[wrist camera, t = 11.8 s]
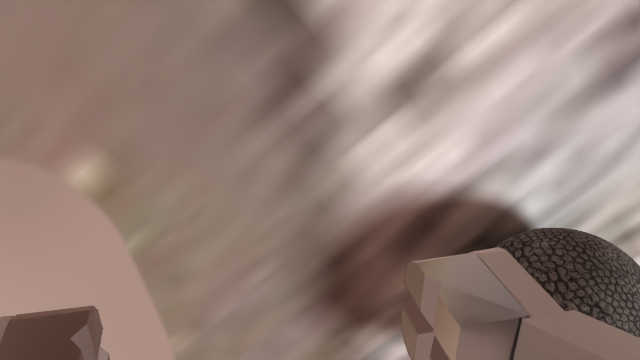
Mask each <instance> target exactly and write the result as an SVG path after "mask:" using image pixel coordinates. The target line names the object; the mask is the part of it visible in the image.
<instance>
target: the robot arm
mask: <svg viewBox="0 0 640 360" xmlns="http://www.w3.org/2000/svg"><path fill="white" fill-rule="evenodd" d="M404 284H405V285H406V287H407V289H408V291H409V292H410V294H411V296H410V297H409V299H408V300H407V301H406V302H405V304H404V305H403V306H402V321H401V324H402V331H403V338H404V343H405V346H406V349H407V352H408V354H409V356H410V358H411V360H640V338H639V337H636V336H634V335H632V334H629V333H627V332H625V331H622V330H620V329H618V328H615V327H613V326H611V325H608V324H606V323H604V322H601V321H599V320H597V319H594V318H592V317H590V316H587V315H585V314H583V313H580V312H578V311H576V310H571V311H564V310H563V309H562V308H561V307H560V306H559V305H558V304H557V303H556V301H555V300H554V299H553V298H552V297H551V296H550V295H549V294H548V293H547V292H546V291H545V290H544V289H543V288H542V287H541V286H540V285H539V284H538V283H537V282H536V281H535V280H534V279H533V278H532V276H531V275H530V274H529V273H528V272H527V271H526V270H525V269H524V268H523V267H522V266H521V265H520V264H519V263H518V262H517V261H516V260H515V259H514V258H513V257H512V256H511V255H510V254H509V252H508V251H506V250H504V249H502V248H499V247H497V248H491V249H485V250H479V251H473V252H469V253H468V254H460V255H453V256H446V257H440V258H433V259H426V260H419V261H412V262H409V264H408V266H407V269H406V274H405V283H404ZM102 330H103V327H102V324H101V320H100V316H99V313H98V310H97V309H96V308H95V306H87V307H78V308H70V309H61V310H53V311H45V312H36V313H27V314H19V315H16V316H5V317H0V360H110V358H109V353H108V352H107V351H105V350H104V349H102V348H101V347H100V343H101V336H102Z"/></svg>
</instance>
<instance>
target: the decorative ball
mask: <svg viewBox="0 0 640 360" xmlns="http://www.w3.org/2000/svg"><path fill="white" fill-rule="evenodd" d="M497 247H499V248H502V249H504V250H506V251H508V252H509V254H510V255H511V256H512V257H513V258H514V259H515V260H516V261H517V262H518V263H519V264H520V265H521V266H522V267H523V268H524V269H525V270H526V271H527V272H528V273H529V274H530V275H531V276H532V278H533V279H534V280H535V281H536V282H537V283H538V284H539V285H540V286H541V287H542V288H543V289H544V290H545V291H546V292H547V293H548V294H549V295H550V296H551V297H552V298H553V299H554V300H555V301H556V303H557V304H558V305H559V306H560V307H561V308H562V309H563V310H564V311H571V310H576V311H578V312H580V313H583V314H585V315H587V316H590V317H592V318H594V319H597V320H599V321H601V322H604V323H606V324H608V325H611V326H613V327H615V328H618V329H620V330H622V331H625V332H627V333H629V334H632V335H634V336H636V337H639V338H640V266H639V265H638V264H637V263H636V262H635V261H634V260H633V259H632V258H631V257H630V256H628V255H627V254H626V253H625V252H623V251H622V250H621V249H619V248H618V247H616V246H615V245H613V244H612V243H610V242H608V241H606V240H604V239H602V238H600V237H597V236H595V235H592V234H589V233H586V232H582V231H578V230H572V229H565V228H540V229H534V230H529V231H525V232H521V233H518V234H516V235H513V236H511V237H509V238H507V239H505V240H504V241H502V242H501V243H499V244H498V245H496V246H495V247H494V248H497Z"/></svg>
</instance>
